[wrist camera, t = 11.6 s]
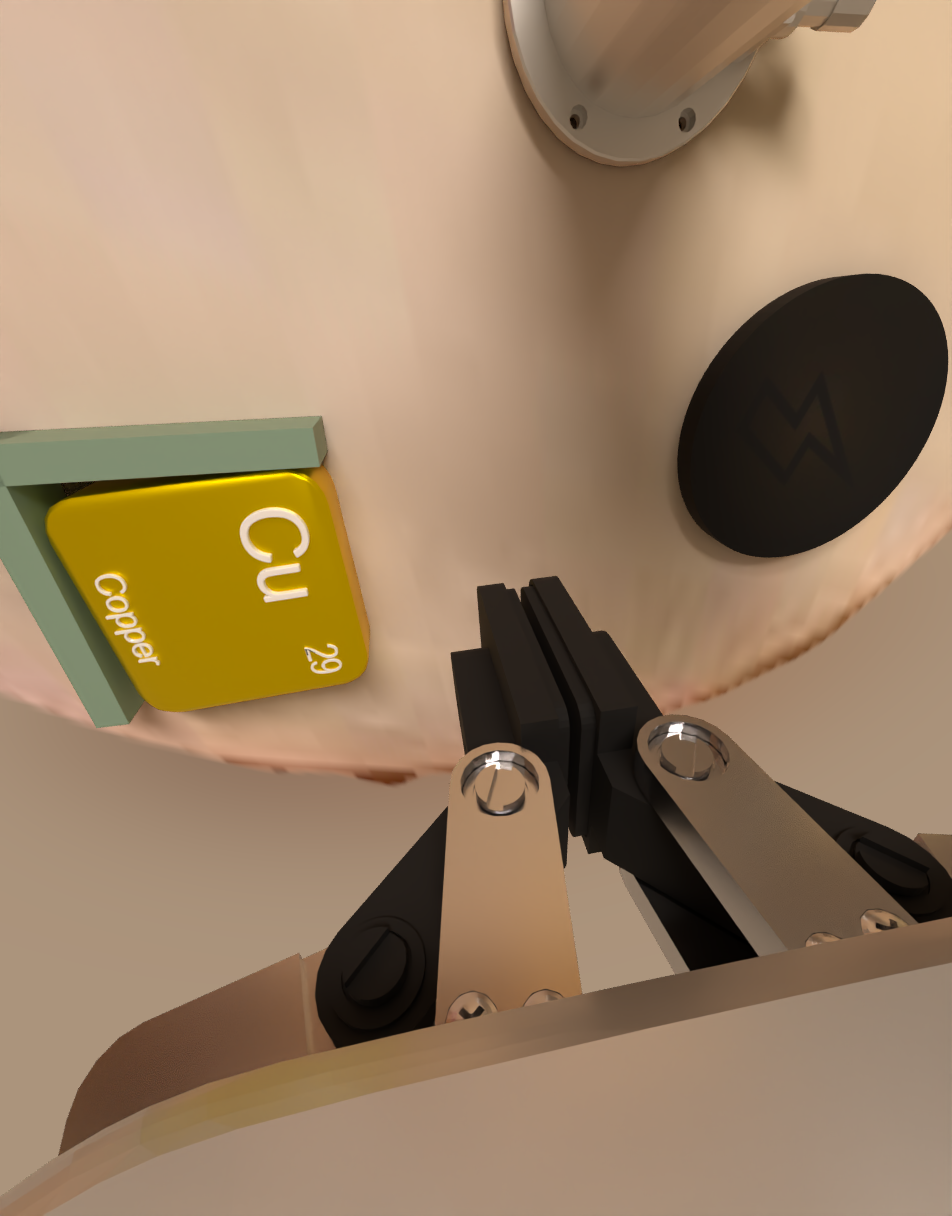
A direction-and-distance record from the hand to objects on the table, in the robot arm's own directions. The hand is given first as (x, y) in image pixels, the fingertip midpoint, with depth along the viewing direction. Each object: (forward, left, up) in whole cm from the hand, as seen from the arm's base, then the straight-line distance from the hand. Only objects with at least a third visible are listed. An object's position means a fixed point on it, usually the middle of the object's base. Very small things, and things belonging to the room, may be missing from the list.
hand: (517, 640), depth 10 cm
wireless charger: (-26, +1, -24) cm, 35 cm away
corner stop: (+15, +7, -23) cm, 28 cm away
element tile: (+13, +8, -24) cm, 28 cm away
